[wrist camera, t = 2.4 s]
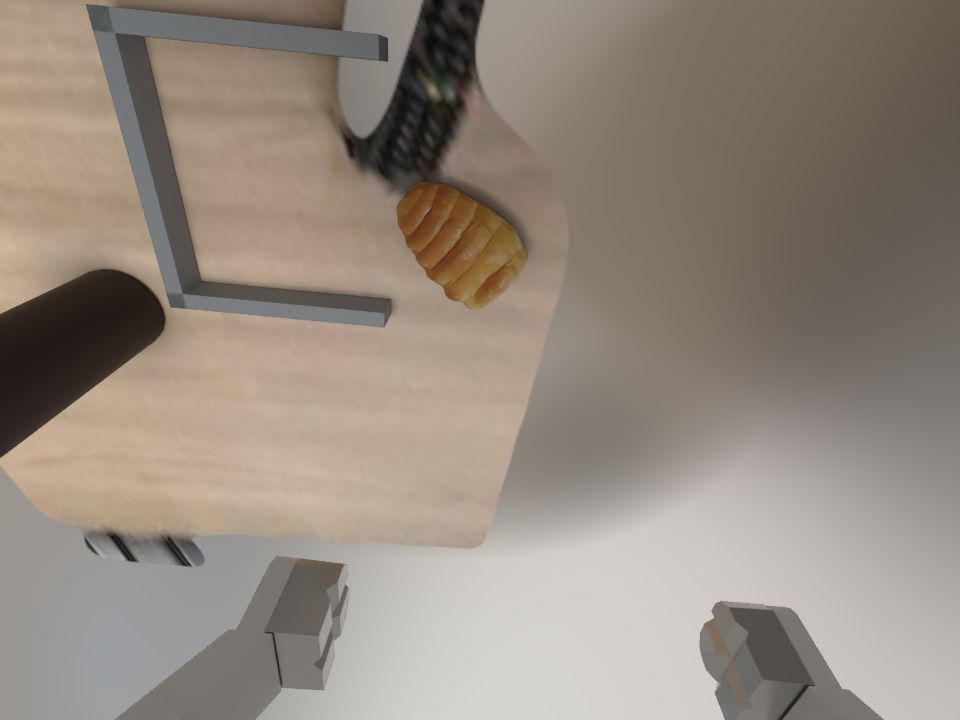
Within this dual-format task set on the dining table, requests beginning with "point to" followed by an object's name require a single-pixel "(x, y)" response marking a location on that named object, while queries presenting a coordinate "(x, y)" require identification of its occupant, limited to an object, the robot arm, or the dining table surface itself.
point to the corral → (154, 164)
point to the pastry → (460, 243)
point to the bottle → (69, 346)
